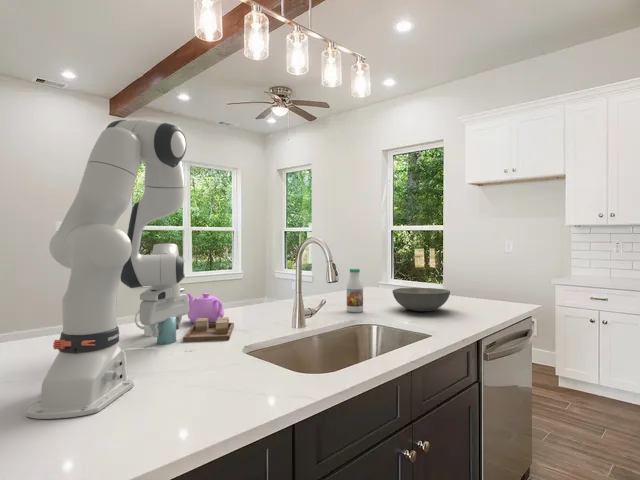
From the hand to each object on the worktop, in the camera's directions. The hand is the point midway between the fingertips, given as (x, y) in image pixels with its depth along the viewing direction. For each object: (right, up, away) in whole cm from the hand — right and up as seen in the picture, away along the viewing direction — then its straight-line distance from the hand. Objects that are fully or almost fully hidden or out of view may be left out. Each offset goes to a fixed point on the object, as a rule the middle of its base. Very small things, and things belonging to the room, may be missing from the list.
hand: (166, 332), depth 133 cm
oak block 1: (+7, -3, +16) cm, 18 cm away
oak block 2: (+15, -3, +18) cm, 23 cm away
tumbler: (0, -4, 0) cm, 4 cm away
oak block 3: (+15, -3, +13) cm, 20 cm away
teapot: (+4, -3, +30) cm, 30 cm away
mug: (-10, -4, +11) cm, 15 cm away
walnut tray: (+12, -3, +11) cm, 16 cm away
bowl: (+99, -2, +55) cm, 113 cm away
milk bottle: (+67, -3, +53) cm, 86 cm away
